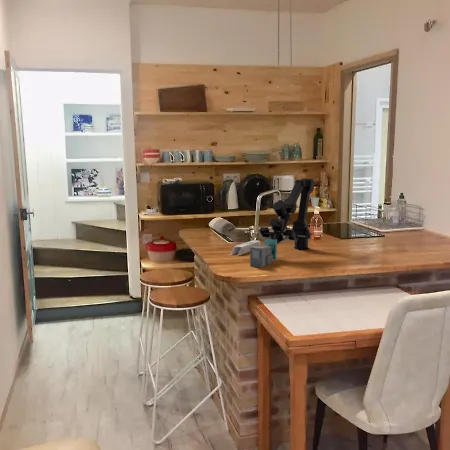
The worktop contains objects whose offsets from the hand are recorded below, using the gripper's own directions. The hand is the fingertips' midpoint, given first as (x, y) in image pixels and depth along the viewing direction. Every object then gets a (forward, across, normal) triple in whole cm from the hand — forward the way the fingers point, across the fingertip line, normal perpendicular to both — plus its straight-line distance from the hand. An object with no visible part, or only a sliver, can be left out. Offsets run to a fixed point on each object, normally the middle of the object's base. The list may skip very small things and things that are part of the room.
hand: (271, 246), depth 249 cm
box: (-2, -22, +13) cm, 26 cm away
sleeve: (+10, 0, 0) cm, 10 cm away
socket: (+15, 0, -5) cm, 16 cm away
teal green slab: (+9, 0, -1) cm, 9 cm away
